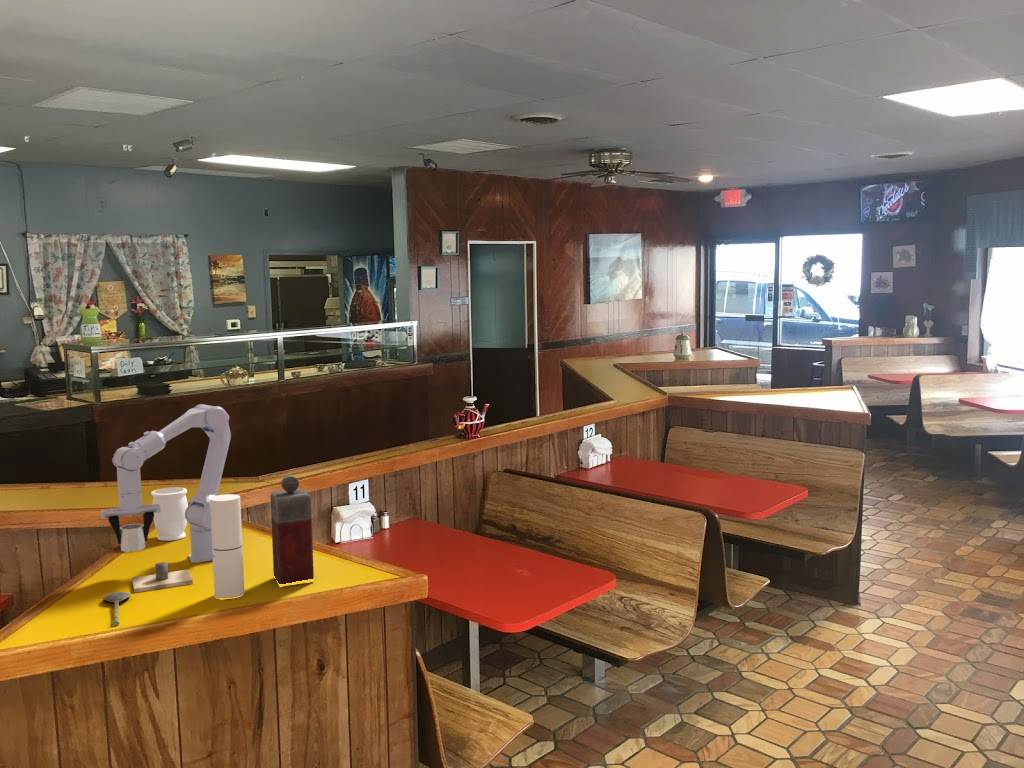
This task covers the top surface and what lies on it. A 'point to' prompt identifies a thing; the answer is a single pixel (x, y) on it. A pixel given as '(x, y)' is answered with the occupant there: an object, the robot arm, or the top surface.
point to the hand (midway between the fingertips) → (132, 541)
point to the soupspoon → (116, 602)
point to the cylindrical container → (227, 546)
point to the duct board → (161, 584)
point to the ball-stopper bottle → (291, 533)
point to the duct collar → (132, 537)
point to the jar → (170, 513)
